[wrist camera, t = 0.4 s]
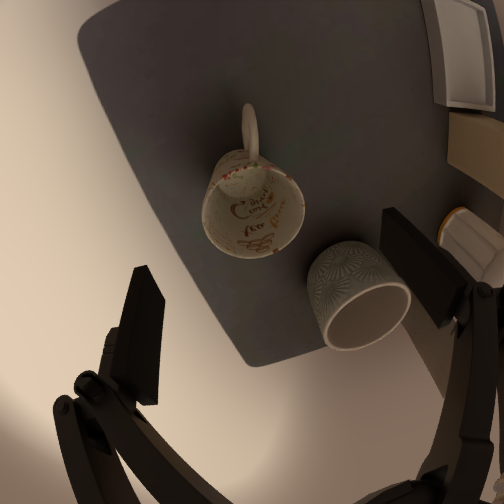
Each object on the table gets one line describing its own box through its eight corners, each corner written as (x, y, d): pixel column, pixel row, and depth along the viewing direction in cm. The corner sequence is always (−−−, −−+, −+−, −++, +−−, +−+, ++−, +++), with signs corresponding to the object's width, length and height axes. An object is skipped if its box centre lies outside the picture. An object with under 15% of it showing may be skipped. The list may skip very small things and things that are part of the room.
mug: (206, 211, 32) (208, 263, 24) (196, 103, 25) (190, 113, 17) (277, 205, 33) (302, 253, 25) (278, 99, 26) (310, 109, 17)
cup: (479, 218, 39) (537, 274, 25) (446, 262, 44) (497, 324, 30) (460, 189, 35) (534, 249, 21) (422, 240, 40) (486, 312, 26)
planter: (339, 215, 35) (380, 267, 26) (388, 253, 40) (424, 300, 31) (282, 280, 40) (302, 341, 31) (337, 305, 45) (361, 357, 36)
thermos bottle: (424, 267, 44) (508, 387, 21) (415, 297, 48) (483, 409, 26) (390, 278, 44) (473, 415, 21) (383, 308, 48) (449, 433, 26)
